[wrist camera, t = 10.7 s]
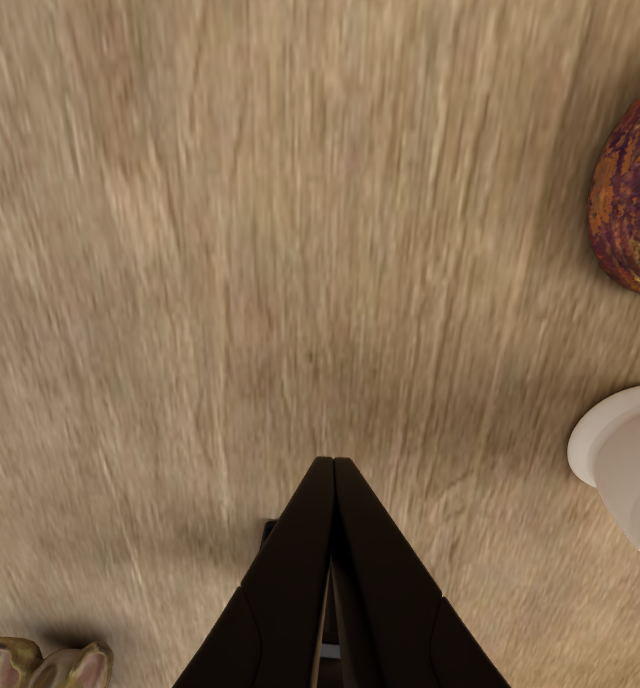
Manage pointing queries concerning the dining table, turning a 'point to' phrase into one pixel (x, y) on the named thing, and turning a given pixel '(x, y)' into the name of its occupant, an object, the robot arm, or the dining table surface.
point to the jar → (612, 457)
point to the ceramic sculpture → (54, 665)
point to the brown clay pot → (618, 203)
